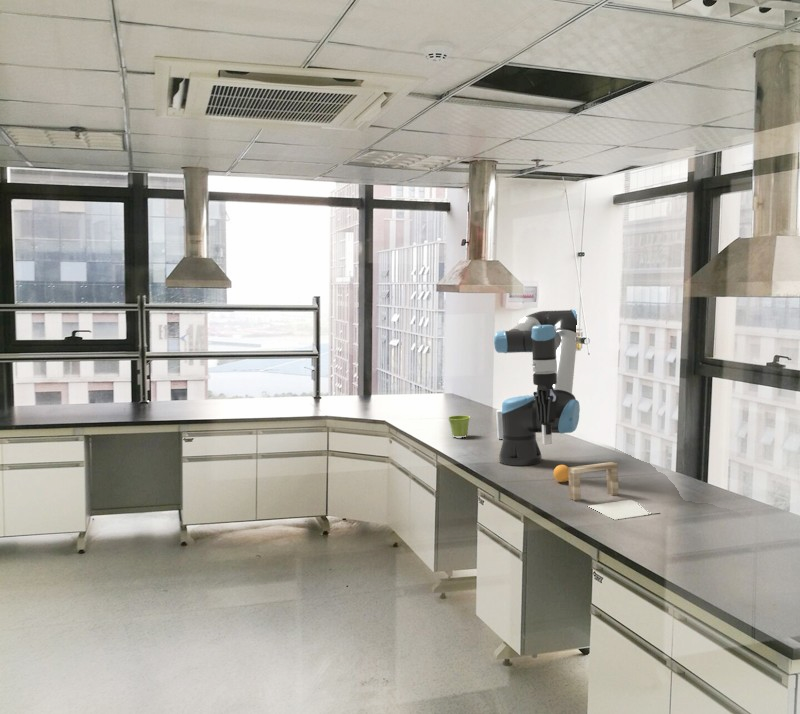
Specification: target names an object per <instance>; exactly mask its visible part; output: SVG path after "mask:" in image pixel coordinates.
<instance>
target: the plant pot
mask: <svg viewBox="0 0 800 714" xmlns="http://www.w3.org/2000/svg"><path fill="white" fill-rule="evenodd" d="M447 419H448V421H449V424H450V428H451V434H452V436H453V435H454V436H465V435H467V436H468V432H469V430H468V429H469V422H470V419H471V416H470V415H466V414H465V415H464V414H462V415H461V414H460V415H452V416H449V417H447Z"/></svg>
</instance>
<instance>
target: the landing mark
mask: <svg viewBox="0 0 800 714" xmlns="http://www.w3.org/2000/svg"><path fill="white" fill-rule="evenodd" d="M638 503H639V502H637V501H635V500H633V499H627V500H619V501H613V502H611V501H610V502H605V503H604V502H603V503H598V504H590V505H587V506H588V507H587V508H589V507H590V508H589V509H591V508H592V509H591V510H593V509H594V510H593V511H595V510H596V511H595V512H597V511H598V512H597V513H599V512H600V513H599V514H601V513H602V515H603V516H605V517H608V518H609V517H610V518H609V519H611V518H612V519H611V520H613V519H614V520H613V521H618V519H619V520H624V519H625V518H626V519H630V518H638V517H644V515H646V516H649V515H648V513H649V512H647V511H648V510H647V511H646V510H645V509H644V508H643V507H642V506H641V505H640V504H641V503H639V505H640V506H639V505H638ZM641 507H642V508H641ZM649 514H651V512H650V513H649Z"/></svg>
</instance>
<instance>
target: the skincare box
mask: <svg viewBox="0 0 800 714" xmlns="http://www.w3.org/2000/svg"><path fill="white" fill-rule="evenodd" d="M495 414H496V415H495V416H496V419H495V420H496V432H497V433H496V434H497V439H498V438H499V439H503V423H502V409H495ZM499 439H498V440H499Z"/></svg>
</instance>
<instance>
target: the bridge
mask: <svg viewBox="0 0 800 714" xmlns="http://www.w3.org/2000/svg"><path fill="white" fill-rule="evenodd" d="M605 470H606V493H607V494H608V493H609V494H608V495H610V494H611V495H610V496H618V495H617V494H619V493H620V492H619V464H618V463H616V462H613V461H610V462H609V461H608V462H602V463H593V464H586V465H584V464H583V465H578V466H576V465H575V466H570V467H568V471H569V480H568V490H569V491H568V494H569V495H568V496H569V499H570V498H571V499H570V500H572V499H573V500H572V501H574V500H578V501H581V499H582V498H581V493H582V492H581V474H583V473H589V472H598V471H605Z"/></svg>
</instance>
